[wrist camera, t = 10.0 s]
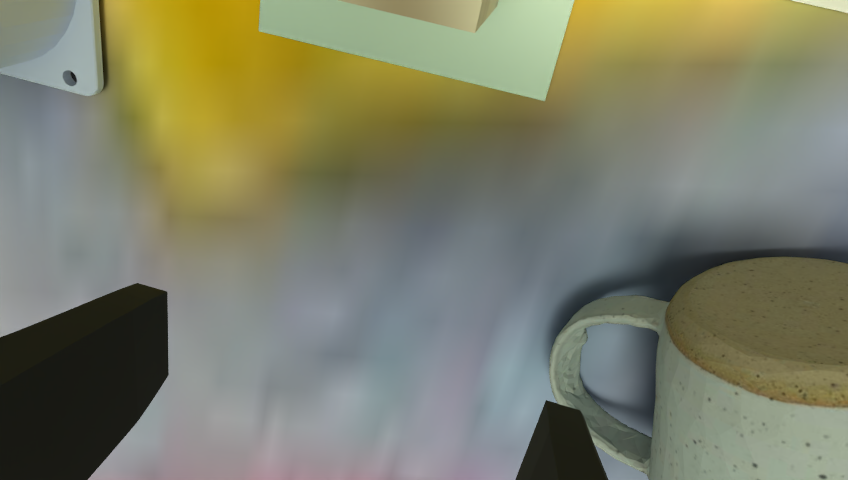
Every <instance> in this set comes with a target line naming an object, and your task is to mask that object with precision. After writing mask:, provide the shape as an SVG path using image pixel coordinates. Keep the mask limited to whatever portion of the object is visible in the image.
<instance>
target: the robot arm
mask: <svg viewBox="0 0 848 480" xmlns="http://www.w3.org/2000/svg"><path fill="white" fill-rule="evenodd" d="M71 72H73V73H74V75H75V76H76V78H77V82H75V81H74V80H73V79H72V77H71ZM0 74H4V75H7V76H11V77H15V78H19V79H23V80H27V81H30V82H34V83H38V84H42V85H46V86H49V87H53V88H57V89H61V90H65V91H69V92H72V93H76V94H80V95H84V96H92V95H95V94H97V93H100V92H101V90H102V89H103V85H104V80H103V64H102V47H101V31H100V15H99V0H0ZM167 376H168V312H167V292H166V291H163V290H159V289H156V288H152V287H149V286H145V285H142V284H138V283H136V284H133V285H131V286H128V287H125V288H122V289H120V290H117V291H115V292H112V293H110V294H107V295H105V296H102V297H100V298H97V299H95V300H92V301H90V302H88V303H85V304H83V305H80V306H78V307H75V308H73V309H71V310H68V311H66V312H63V313H61V314H58V315H56V316H53V317H51V318H49V319H46V320H44V321H41V322H39V323H36V324H34V325H31V326H29V327H26V328H24V329H21V330H19V331H16V332H14V333H11V334H8V335H5V336H3V337H0V480H88V478H89V477H90V476H91V475H92V474H93V473H94V472H95V470H96V469H97V468H98V467H99V466H100V465H101V464H102V462H103V461H104V460H105V459H106V458H107V457H108V456H109V454H110V453H111V452H112V451H113V450H114V449H115V447H116V446H117V445H118V444H119V443H120V442H121V440H122V439H123V438H124V437H125V436H126V435H127V433H128V432H129V431H130V430H131V429H132V427H133V426H134V425H135V424H136V423H137V421H138V420H139V419H140V417H141V416H142V414H143V413H144V411H145V410H146V409H147V407H148V406H149V404H150V403H151V401H152V400H153V398H154V397H155V395H156V394H157V392H158V390H159V389H160V387H161V386H162V384H163V383H164V381H165V380H166V378H167ZM516 480H608V478H607V475H606V473H605V470H604V468H603V466H602V463H601V461H600V458H599V456H598V453H597V450H596V448H595V445H594V443H593V440H592V437H591V435H590V432H589V429H588V426H587V424H586V421H585V418H584V416H583V414H582V412H581V411H580V410H578V409H574V408H571V407H567V406H564V405H560V404H557V403H553V402H550V401H546V402H545V404H544V407H543V410H542V412H541V415H540V417H539V420H538V423H537V425H536V428H535V430H534V433H533V436H532V438H531V441H530V443H529V446H528V449H527V451H526V454H525V456H524V459H523V462H522V464H521V467H520V469H519V472H518V475H517V477H516Z"/></svg>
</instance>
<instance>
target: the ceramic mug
mask: <svg viewBox="0 0 848 480" xmlns="http://www.w3.org/2000/svg"><path fill="white" fill-rule="evenodd" d="M603 323H611V324H630V325H633V326H635V327H642V328H649V329H652V330H654V331H656V332H657V333H658V335H659V341H658V347H657V357H656V399H655V409H654V419H653V432H652V438H651V437H649V436H647V435H645V434H643V433H640V432H638V431H637V430H635V429H633V428H630V427H628V426H627V425H625V424H623V423H621V422H620V421H618V420H617V419H615V418H614V417H612V416H611V415H610V414H608V413H607V412H606V411H604V410H603V409H602V408H601V407H600V406H599V405H598V404H597V403H596V402H595V401H594V400H593V399H592V397H591V396H590V395H589V394H588V393H587V392H586V390H585V389H584V387H583V385H582V380H581V379H580V377H579V372H580V356H581V349H582V345H584V344H585V343H586V341H587V338H588V335H587V331H586V328H587V327H589V326H593V325H600V324H603ZM549 374H550V383H551V388H552V392H553V394H554V397H555V399H556V401H557V403H558V404H560V405H564V406H567V407H571V408H574V409H578V410H580V411H581V412H582V414H583V416H584V418H585V421H586V424H587V426H588V429H589V432H590V435H591V437H592V440H593V443H594V444H595V445H596V446H597V447H599V448H600V449H602V450H603V451H605V452H606V453H608V454H609V455H610V456H612V457H613V458H615V459H617V460H619V461H621V462H623V463H625V464H627V465H629V466H631V467H633V468H635V469H637V470H639V471H641V472H643V473H645V474H647V476H648V478H649V480H848V263H842V262H837V261H832V260H826V259H816V258H801V257H763V258H754V259H747V260H740V261H734V262H729V263H726V264H723V265H720V266H717V267H714V268H711V269H709V270H707V271H705V272H703V273H701V274H699V275H697V276H695V277H693V278H692V279H690V280H689V281H688V282H686V283H685V284H683V285H682V286H681V287H680V288H679V290H678V291H677V292H676V293H675V295H674V296H673V298H672V299H671V301H670V302H666V301H661V300H657V299H653V298H649V297H645V296H638V295H631V296H612V297H607V298H602V299H598V300H595V301H593V302H591V303H589V304H587V305H585V306H583V307H582V308H581V309H580V310H579V311H578V312H577V313H575V314H574V315H573V317H572V318H571V319H570V321H569V322H568V323H567V324H566V326H565V327H564V328H563V329H562V330H561V332H560V333H559V334H558V336H557V337H556V339H555V343H554V345H553V346H552V350H551V355H550V370H549Z"/></svg>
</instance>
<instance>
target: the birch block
mask: <svg viewBox="0 0 848 480" xmlns="http://www.w3.org/2000/svg"><path fill="white" fill-rule="evenodd" d="M339 1H343V2H347V3H351V4H356V5H360V6H364V7H368V8H372V9H376V10H380V11H385V12H389V13H393V14H397V15H401V16H405V17H410V18H414V19H418V20H422V21H426V22H430V23H435V24H439V25H443V26H447V27H451V28H455V29H459V30H464V31H468V32H472V33H475V32H476V31H477V30H478V29H479V28H480V26H481V25H482V24H483V23H484V22H485V20H486V19H487V18H488V17H489V16H490V14H491V13H492V12H493V11H494V9H495V8H496V7H497V5H498V0H339Z"/></svg>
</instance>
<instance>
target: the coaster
mask: <svg viewBox="0 0 848 480" xmlns="http://www.w3.org/2000/svg"><path fill="white" fill-rule="evenodd" d="M573 3H574V0H498V5H497V7H496V8H495V9H494V11H493V12H492V13H491V14H490V16H489V17H488V18H487V19H486V20H485V22H484V23H483V24H482V25H481V26H480V28H479V29H478V30H477V31H476V32H475V33H472V32H468V31H464V30H459V29H455V28H451V27H447V26H443V25H439V24H435V23H430V22H426V21H422V20H418V19H414V18H410V17H405V16H401V15H397V14H393V13H389V12H385V11H380V10H376V9H372V8H368V7H364V6H360V5H356V4H351V3H347V2H343V1H339V0H260V16H259V31H260V32H264V33H269V34H273V35H277V36H281V37H285V38H289V39H293V40H297V41H301V42H305V43H309V44H313V45H318V46H322V47H326V48H330V49H334V50H338V51H342V52H346V53H350V54H354V55H358V56H362V57H367V58H371V59H375V60H379V61H383V62H387V63H391V64H395V65H399V66H403V67H407V68H411V69H415V70H420V71H424V72H428V73H432V74H436V75H440V76H444V77H448V78H452V79H456V80H460V81H464V82H469V83H473V84H477V85H481V86H485V87H489V88H493V89H497V90H501V91H505V92H509V93H513V94H518V95H522V96H526V97H530V98H534V99H538V100H542V101H545V99H546V95H547V92H548V89H549V85H550V82H551V78H552V75H553V71H554V68H555V65H556V61H557V58H558V54H559V51H560V48H561V44H562V41H563V37H564V34H565V30H566V27H567V24H568V20H569V17H570V13H571V10H572V7H573Z"/></svg>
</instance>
